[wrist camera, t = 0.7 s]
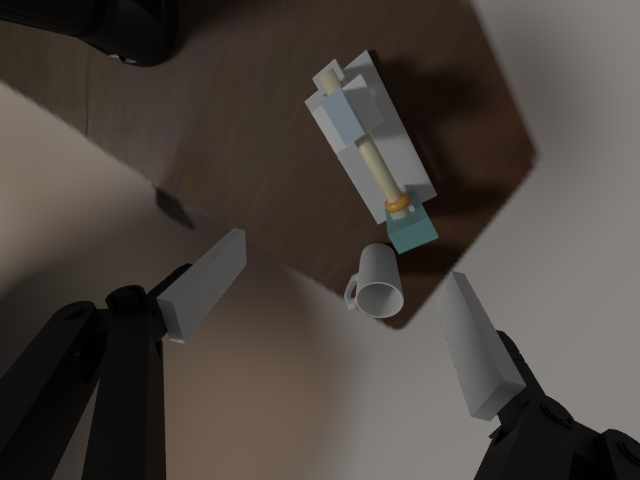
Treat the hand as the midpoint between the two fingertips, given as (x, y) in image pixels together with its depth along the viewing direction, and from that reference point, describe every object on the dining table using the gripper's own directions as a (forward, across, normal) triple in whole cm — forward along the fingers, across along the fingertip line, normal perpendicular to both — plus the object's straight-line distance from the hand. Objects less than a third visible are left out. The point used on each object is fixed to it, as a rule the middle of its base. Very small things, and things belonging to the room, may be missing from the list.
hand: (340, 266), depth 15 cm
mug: (+26, +6, -16) cm, 32 cm away
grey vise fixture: (+27, +2, +4) cm, 27 cm away
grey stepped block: (+22, -2, +8) cm, 23 cm away
